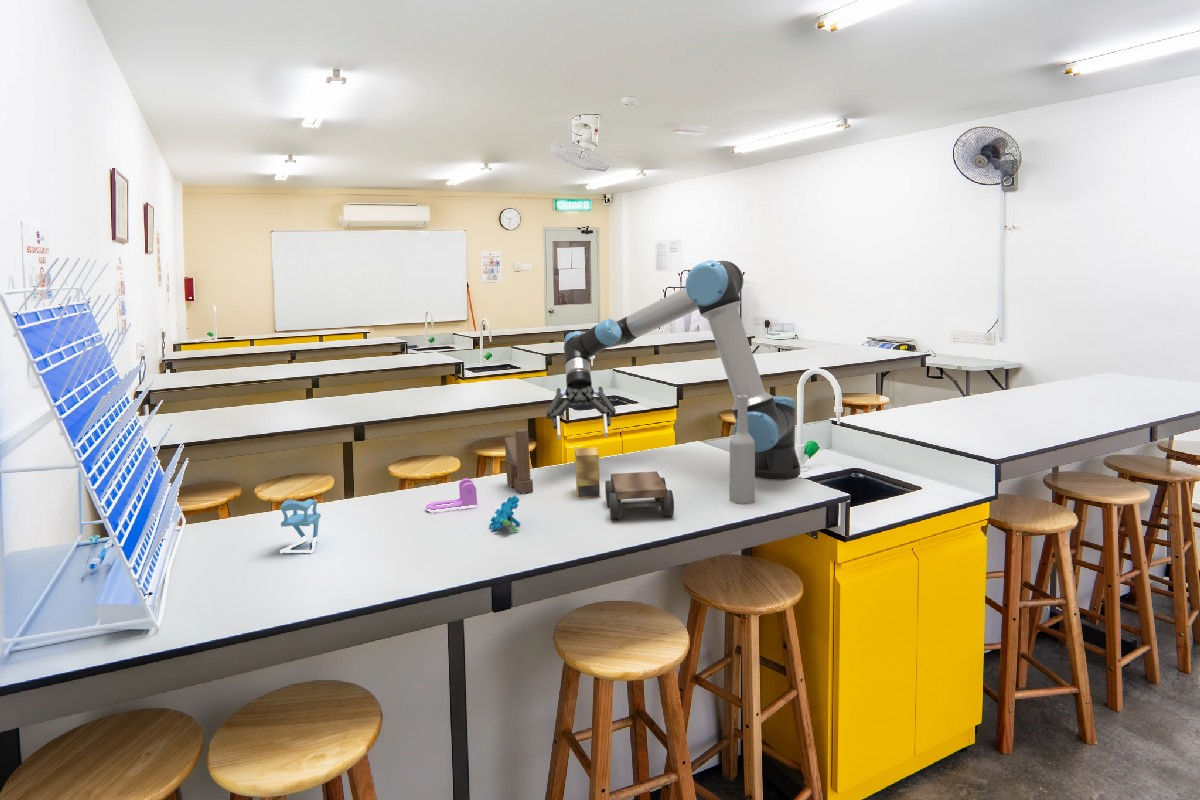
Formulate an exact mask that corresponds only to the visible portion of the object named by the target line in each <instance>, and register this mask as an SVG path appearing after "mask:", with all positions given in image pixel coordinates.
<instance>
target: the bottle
mask: <svg viewBox="0 0 1200 800" xmlns="http://www.w3.org/2000/svg"><path fill="white" fill-rule="evenodd" d="M737 398H738V419H737V432H736V434H735V435H733V436H732V437H731V439H730V440H729V483H728V484H729V486H728V489H729V491H728V492H729V496H728V497H729V502H731V501H732V502H731V503H733V502H735V503H734V504H737V503H741V504H740V505H746V504H745V503H749V504H752V503H755V501H756V497H755V496H756V495H755V494H756V477H755V441H754V439H753V438H752V437H751V435H750V434H749V433H748V422H747V398H748V396H746V395H738V396H737ZM751 502H752V503H751Z"/></svg>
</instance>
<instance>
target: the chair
mask: <svg viewBox="0 0 1200 800" xmlns="http://www.w3.org/2000/svg"><path fill="white" fill-rule="evenodd" d="M312 505H313V507H312ZM317 505H318V500H317V499H312V498H307V499H306V500H305V501H299V500H296V499H289V498H288V499H286V500H285V501H283V502H282V503H281V505H280V511H281V512H282V514H283V517H284V518H283V521H281V522H280V527H281V528H283V527H293V528H294V529H295V531H296V532H297V534H298V535H299V536H300V538H301V537H303V536H305V535H306V534H305V532H304V531H303V529H302V528H301V527H310V526H311V525H313V533H312V538H313V537H316V536H317V537H318V534H319V523H320V519H321V517H322V515H321V513H320V512H317ZM311 507H312V513H308V511H309V509H310V508H311ZM289 511H292V512H293V513H292V514H291V515H290V516H289V515H288V513H287V512H289ZM298 511H302V512H303V513H298Z"/></svg>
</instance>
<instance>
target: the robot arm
mask: <svg viewBox="0 0 1200 800" xmlns="http://www.w3.org/2000/svg"><path fill="white" fill-rule="evenodd" d="M743 287H744V275H743V272H742V271H741V269H740V268H739V266H737V264H735V263H733V262H731V261H728V260H706V261H703V262H700V263H698V264H696V265H695V266H694V267H692V269H691V270H690V271H689V273H688V275H687V277H686V280H685V287H684V288H682V289H680V290H678V291H676V292H674V293H672V294H669V295H668V296H665V297H664V298H661V299H659V300H657V301H655V302H654V303H651V304H649V305H648V306H645V307H643V308H641V309H639V310H637V311H635V312H633V313H632V314H629V315H627V316H624V317H623V318H621V319H619V320H617V321H615V320H613V319H612V318H607V319H605V320H603V321H600V322H598V323H597V324H596V325H594V326H593V327H591V328H590V329H588V330H587V331H585V332H583V331H579V330H575V331H574V332H573V331H571V332H569V333H567V334H566V335H565V337H564V339H563V340H564V342H563V343H564V344H563V352H564V358H565V359H564V360H565V365H564V366H565V367H564V368H565V378H566V379H565V381H566V383H565V384H566V389H565V390H564V389H561V388H560V387H559V388H557V389H556V392H555V393H556V394H555V396H554V398H553V400H552V402H551V404H550V405H549V406H548V409H547V411H546V419H548V420H550V419H551V420H552V428H553V430H556V429H557V441H559V440H561V422H560V421H561V420H560V417H561V416H562V415H563V413H564V412H565V411H567V409H568V408H569V407H571V406H572V404H574V405H579V404H583V405H585V404H586V403H587V404H589V405H590V406H591V407H593V408H595V410H596V411H598V413H600V414H601V415H602V421H603V430H604V431H603V432H604V438H608V436H609V431H608V430H609V429H608V428H609V427H611V424H612V423H611V422H612V420H611V418H612V417H615V416H616V413H617V412H616V411H617V410H616V409H617V408H616V407H615V406H614V405H613V404H612V402H611V401H610V400H609V398H608V397H607V396H606V395H607V394H605V393H604V389H603V387H602V386H598V388H595V389H594V388H593V386H592V385H593V384H592V375H591V363H590V362H591V361H590V358H592V357H593V356H595V355H597V354H598V353H600V352H602V351H604V350H606V349H609V348H614V347H617V346H622V345H624V346H625V345H627V344H629V343H631V342H634V341H635V340H636V339H637V338H640V337H642V336H645V335H647V334H648V333H651V332H653V331H654V330H657V329H660V327H663V326H666V325H667V324H670V323H671V322H674V321H676V320H679V319H681V318H683V317H684V316H687V315H688V314H692V313H693V312H695V311H697V310H698V312H699V315H700V317H702V318H704V319H707V321H708V324H709V327H710V330H711V334H712V336H713V340H714V342H715V346H716V347H717V351H718V354H719V356H720V360H721V362H722V366H723V368H724V372H725V374H726V379H727V381H728V385H729V387H730V390H731V394H732V395H733V399H734V404H733V405H732V407H731V411H732V413H733V417H734V420H735V421H734V425H733V434H734V435H735V434H736V432H737V419H738V398H737V396H738V395H746V396H748V398H747V422H748V433H749V434H750V435H751V437H752V438H753V439H754V441H755V478H759V479H763V480H775V481H777V480H791V479H795V478H798V477H799V476H800V475H801V464H800V461H799V459H798V455H797V454H798V453H797V452H796V447H795V443H796V442H795V440H796V410H797V407H796V400H795V399H794V398H792V397H787V396H778V395H777V396H776V395H775V396H773V395H772V394H770V393H768V392H766V390H765V388H764V385H763V381H762V378H761V376H760V375H761V374H760V373H759V369H758V366H757V363H756V360H755V358H754V354H753V351H752V348H751V345H750V342H749V339H748V336H747V332H746V330H745V327H744V324H743V321H742V318H741V316H740V311H739V308H740V306H741V303H742V301H741V298H740V293H741V292H742V289H743ZM594 395H596V397H598V398H599V400H600V401H601V402H600V401H598V400H597V399H596V398H595V396H594ZM564 396H566V399H565V400H564V401H563V402H562V403H561V404H560V405H559V403H560V401H561V399H562V398H563V397H564ZM558 405H559V406H558ZM556 408H557V409H556ZM734 435H733V436H734Z"/></svg>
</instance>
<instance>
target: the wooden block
mask: <svg viewBox="0 0 1200 800" xmlns="http://www.w3.org/2000/svg"><path fill="white" fill-rule="evenodd" d="M514 434H515V436H510V437H504V449H505V450H504V451H505V461H506V462H505V467H506V482H507V483H506V485H507V484H508V485H509V487H510V486H511V487H510V488H512V487H514V490H515V489H516V491H517V492H518V491H519V493H520V492H521V493H520V494H522V493H524V494H528V493H527V492H529V493H532V492H534V484H533V479H531V464H530V463H531V462H530V442H529V430H528V428H524V427H523V428H517V429H515V431H514ZM508 485H507V486H508Z"/></svg>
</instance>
